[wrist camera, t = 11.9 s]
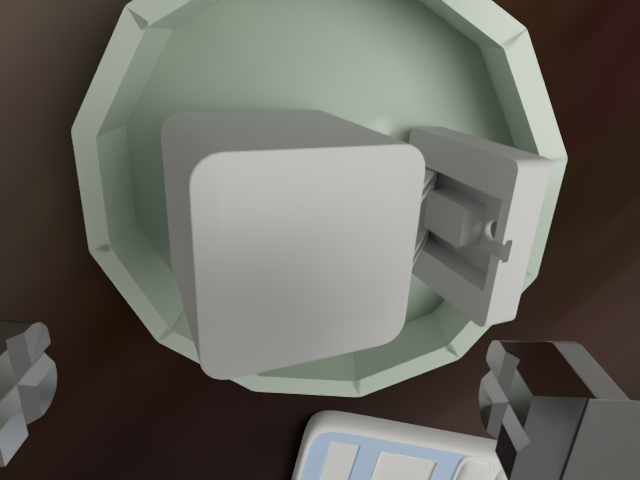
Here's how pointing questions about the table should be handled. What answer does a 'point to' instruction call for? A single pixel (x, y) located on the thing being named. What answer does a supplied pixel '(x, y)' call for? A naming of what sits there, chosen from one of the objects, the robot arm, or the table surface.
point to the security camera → (336, 231)
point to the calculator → (390, 451)
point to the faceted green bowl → (301, 94)
